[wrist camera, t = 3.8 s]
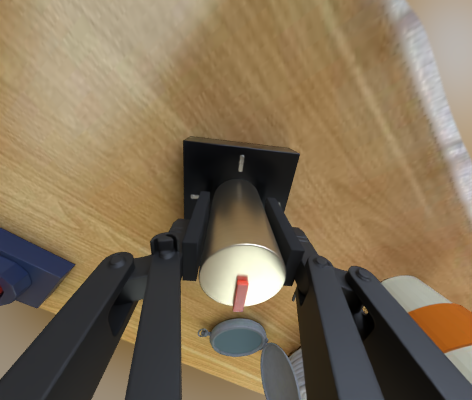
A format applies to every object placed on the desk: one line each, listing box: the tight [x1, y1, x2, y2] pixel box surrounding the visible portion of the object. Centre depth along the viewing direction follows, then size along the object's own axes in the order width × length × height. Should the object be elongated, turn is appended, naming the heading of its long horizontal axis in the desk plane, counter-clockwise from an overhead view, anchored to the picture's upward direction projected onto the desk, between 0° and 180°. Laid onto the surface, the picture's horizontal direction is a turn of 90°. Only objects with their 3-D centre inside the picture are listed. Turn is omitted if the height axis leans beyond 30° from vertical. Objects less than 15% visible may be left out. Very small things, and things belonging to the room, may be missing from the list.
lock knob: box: [199, 179, 286, 312], centre depth 13 cm, size 4×4×9 cm
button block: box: [0, 228, 75, 308], centre depth 21 cm, size 11×8×4 cm
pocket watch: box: [198, 318, 301, 400], centre depth 27 cm, size 10×11×15 cm
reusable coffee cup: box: [381, 275, 472, 384], centre depth 22 cm, size 13×13×15 cm
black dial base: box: [183, 136, 300, 266], centre depth 19 cm, size 14×10×3 cm
